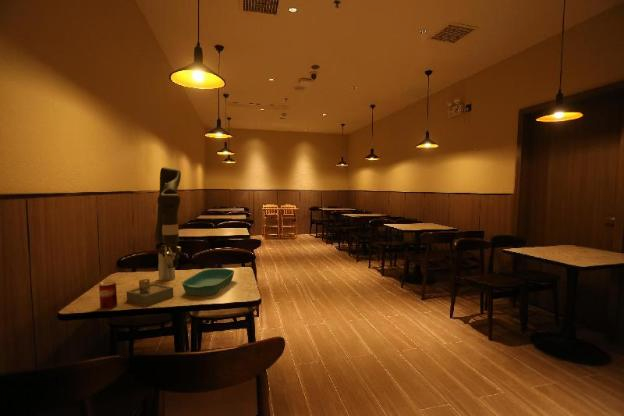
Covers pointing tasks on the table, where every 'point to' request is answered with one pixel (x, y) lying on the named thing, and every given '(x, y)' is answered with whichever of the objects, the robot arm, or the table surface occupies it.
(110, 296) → the soda can
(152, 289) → the scale pan
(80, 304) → the table surface
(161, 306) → the table surface
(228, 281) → the casserole dish
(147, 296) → the block
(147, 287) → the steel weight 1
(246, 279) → the table surface
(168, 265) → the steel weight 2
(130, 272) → the table surface
